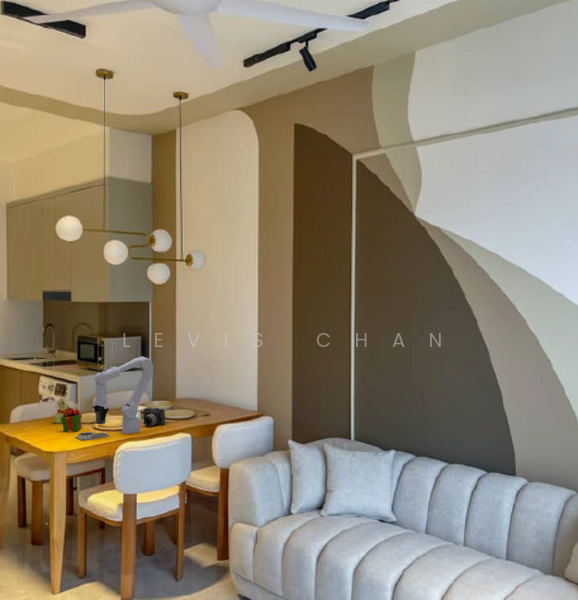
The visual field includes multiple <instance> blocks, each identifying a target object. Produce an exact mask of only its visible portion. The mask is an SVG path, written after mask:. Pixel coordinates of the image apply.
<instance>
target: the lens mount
mask: <svg viewBox="0 0 578 600" xmlns="http://www.w3.org/2000/svg"><path fill="white" fill-rule="evenodd" d="M109 437H111V435H109V434H107V433H105V432H99V433H95V432H92V431H88V432H87V431H85V432H80V433H78V435H77V436H74V438H75V439H77V440H79V441H81V442H85V441H92V440H98V439H103V438H109Z"/></svg>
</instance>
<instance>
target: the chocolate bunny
mask: <svg viewBox="0 0 578 600" xmlns="http://www.w3.org/2000/svg"><path fill="white" fill-rule="evenodd" d="M56 403H57V406H58V409H57V410H56V411H57V412H56V413H55V414H54V416H53V419H52V422H53V424H56V425H57V424H63V423H62V422H61V417H62V416H64V415H63V413H64V412H65V410H66V408H68V409H69V408H72V406H71V405H70V404H69V403H67V401H66V400H65V398H64V397H60V398H59V399H58V400H57V401H56Z"/></svg>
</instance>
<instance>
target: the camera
mask: <svg viewBox="0 0 578 600" xmlns="http://www.w3.org/2000/svg"><path fill="white" fill-rule="evenodd" d="M165 412H166V411H165V409H164V408H159V407H154V408H153V407H151V406H149V407H144V409H143V424H144V425H145V426H147V427H153V426H155V425H156V426H165V425H166V415H165V414H166V413H165Z"/></svg>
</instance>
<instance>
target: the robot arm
mask: <svg viewBox="0 0 578 600" xmlns="http://www.w3.org/2000/svg"><path fill="white" fill-rule="evenodd" d="M153 366H154V364H153V362H152V360H151V359H150V358H149V357H145V356H139V357H136V358H133V359H131V360H129V361H128V362H125V363H124V364H122V365H120V366H118V367H117V366H110V367H109V368H108V369H106V370H102V372H97V373H96V374H95V376H94V378H93V380H94V382H95V395H94V396H95V400H93V403H92V404H93V406H92V408H93V410H94V413H95V414H96V412H100V419H101V421H103V420H105V418H107V414H108V412H109V410H110V408H109V404H108V403H107V382H109V381H111V380H114V379H115V378H117V377H119V376H120V375H121V373H124V372H125V371H127V370H131V369H133V368H137V369H139V370H140V372H141V374H142V375H141V377H140V379H139V381H138V383H137V385H136V387H135V388H134V391H133V393H132V394H131V397H130V399H129V400H127V401H126V403H125V404H124V405H123V406H122V407H121V414H122V419H121V420H122V425H121V426H122V430H121V431H122V433H123V434H126V435H127V434H128V435H129V434H134V433H142V432H141V419H140V417H139V416H137V414H138V409H139V403H140V401H141V400H142V399H141V398H142V397H143V395H144V393H145V391H146V390H147V386H148V385H149V384H150V381H151V379H152V378H153V375H154V373H153Z"/></svg>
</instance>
